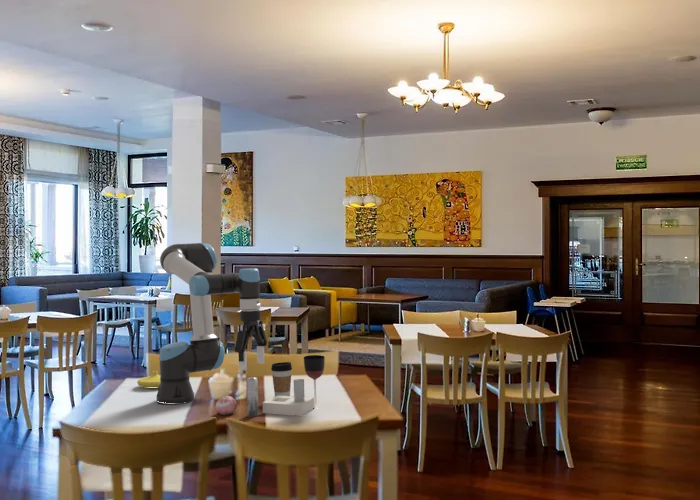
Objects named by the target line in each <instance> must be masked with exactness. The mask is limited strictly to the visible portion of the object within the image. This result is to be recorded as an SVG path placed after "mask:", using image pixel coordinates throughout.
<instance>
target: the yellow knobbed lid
mask: <svg viewBox="0 0 700 500" xmlns="http://www.w3.org/2000/svg"><path fill="white" fill-rule="evenodd" d="M136 383H137V386H139V387H141V386H142V388H144V387H159V386H160V374H159V373H158V370H153V371H152V374H151V375H148V376H144V377H141V378H139V379H137V382H136Z"/></svg>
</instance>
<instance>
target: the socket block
mask: <svg viewBox="0 0 700 500" xmlns="http://www.w3.org/2000/svg"><path fill="white" fill-rule="evenodd" d="M313 408H315V406H314V397H306V396H305V379H304V378H295V379H293V396H292V395H290V396H279V395H277V396H275V395H274V397H271V398H269V399H267V400H265V401H262V414H269V415H270V414H271V415H283V416H284V415H286V416H294V415H297V416H296V417H302V416H304V415H305V413H306V414H307V413H309V412H311V411H312V410H314V409H313ZM310 410H311V411H310Z"/></svg>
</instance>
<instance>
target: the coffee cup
mask: <svg viewBox="0 0 700 500" xmlns="http://www.w3.org/2000/svg"><path fill="white" fill-rule="evenodd" d="M270 370H271V371H272V377H271V378H272V384H273V392H274V397H275V396H277V395H279V396H291V385H292V384H291V383H292V370H293V366H292V363H291V361H290V362H289V361H285V362H283V361H282V362H276V363H274V362H273V363H272V364H271V368H270Z"/></svg>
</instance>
